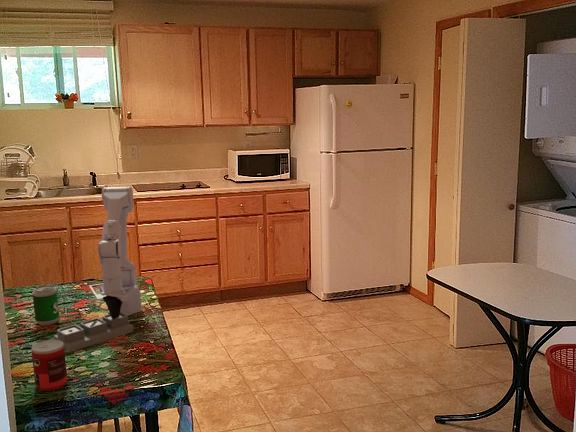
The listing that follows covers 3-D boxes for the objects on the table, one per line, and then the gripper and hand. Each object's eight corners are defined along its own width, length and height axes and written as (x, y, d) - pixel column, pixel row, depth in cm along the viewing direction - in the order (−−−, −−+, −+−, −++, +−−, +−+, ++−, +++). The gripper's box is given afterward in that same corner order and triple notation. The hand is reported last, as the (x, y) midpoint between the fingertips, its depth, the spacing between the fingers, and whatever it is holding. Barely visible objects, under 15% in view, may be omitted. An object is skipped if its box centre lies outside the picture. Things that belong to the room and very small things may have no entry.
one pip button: (74, 332, 183) (74, 326, 183) (81, 336, 180) (80, 330, 180) (61, 336, 180) (60, 330, 180) (67, 340, 177) (66, 334, 177)
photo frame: (97, 298, 219) (89, 285, 234) (97, 301, 219) (89, 287, 234) (136, 291, 225) (126, 279, 241) (136, 294, 225) (126, 281, 241)
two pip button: (118, 319, 193) (117, 313, 193) (125, 322, 190) (124, 316, 190) (106, 323, 190) (105, 317, 190) (112, 326, 187) (112, 320, 187)
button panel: (116, 322, 197) (115, 309, 196) (133, 331, 189) (132, 317, 188) (54, 341, 182) (52, 327, 181) (70, 352, 175) (69, 337, 174)
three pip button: (97, 325, 188) (96, 319, 188) (103, 329, 185) (103, 323, 185) (84, 329, 185) (83, 323, 185) (90, 333, 182) (90, 327, 182)
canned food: (40, 378, 159) (36, 340, 156) (71, 376, 159) (67, 338, 157) (31, 392, 151) (26, 352, 149) (63, 390, 152) (59, 350, 150)
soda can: (51, 327, 194) (47, 292, 191) (30, 325, 195) (27, 291, 193) (64, 318, 201) (60, 285, 199) (44, 317, 202) (40, 284, 200)
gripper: (89, 275, 189) (92, 315, 192) (112, 284, 179) (115, 326, 182) (109, 270, 194) (112, 309, 197) (132, 279, 184) (135, 320, 187)
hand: (115, 317), depth 190 cm, fingers closed, pressing on two pip button
